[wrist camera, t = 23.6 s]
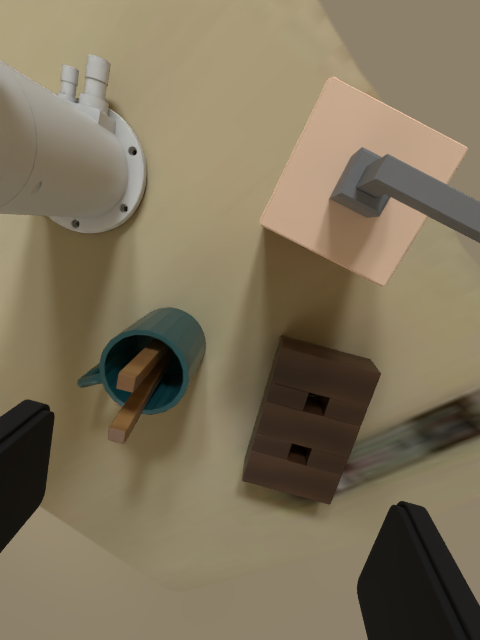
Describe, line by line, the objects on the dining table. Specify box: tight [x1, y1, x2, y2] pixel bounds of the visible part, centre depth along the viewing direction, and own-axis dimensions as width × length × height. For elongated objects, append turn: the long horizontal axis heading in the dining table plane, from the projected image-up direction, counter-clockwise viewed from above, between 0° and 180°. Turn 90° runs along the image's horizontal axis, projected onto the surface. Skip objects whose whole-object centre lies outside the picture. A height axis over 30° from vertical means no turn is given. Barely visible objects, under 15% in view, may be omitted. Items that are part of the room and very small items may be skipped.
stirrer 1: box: [116, 338, 170, 393], centre depth 34 cm, size 1×1×13 cm
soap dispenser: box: [260, 76, 480, 286], centre depth 26 cm, size 13×9×22 cm
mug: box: [77, 308, 206, 415], centre depth 37 cm, size 12×8×9 cm
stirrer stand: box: [242, 336, 381, 504], centre depth 40 cm, size 16×10×4 cm, turn 166°
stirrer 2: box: [108, 351, 173, 444], centre depth 35 cm, size 1×1×13 cm
